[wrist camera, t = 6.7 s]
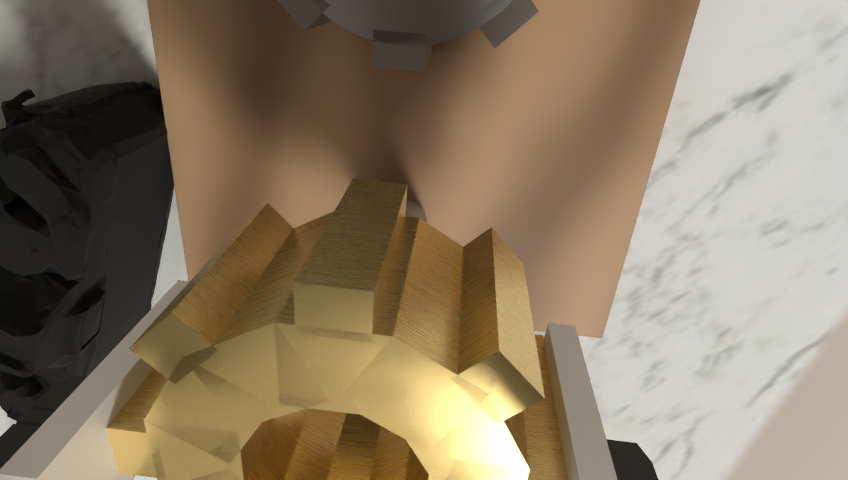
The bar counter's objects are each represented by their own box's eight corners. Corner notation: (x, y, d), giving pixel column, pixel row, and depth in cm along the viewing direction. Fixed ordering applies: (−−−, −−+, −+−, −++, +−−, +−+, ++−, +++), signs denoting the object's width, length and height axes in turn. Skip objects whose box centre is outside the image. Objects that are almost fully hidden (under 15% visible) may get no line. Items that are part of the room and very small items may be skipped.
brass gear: (228, 432, 18) (149, 581, 14) (192, 161, 14) (56, 255, 9) (513, 467, 18) (525, 634, 13) (573, 201, 13) (622, 320, 9)
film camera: (-19, 4, 22) (-297, 24, 14) (207, 99, 23) (68, 168, 15) (-22, 285, 29) (-211, 407, 21) (152, 348, 30) (37, 486, 22)
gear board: (204, 277, 27) (129, 363, 21) (127, -306, 17) (-56, -453, 11) (595, 319, 26) (631, 420, 21) (756, -260, 16) (919, -391, 10)
